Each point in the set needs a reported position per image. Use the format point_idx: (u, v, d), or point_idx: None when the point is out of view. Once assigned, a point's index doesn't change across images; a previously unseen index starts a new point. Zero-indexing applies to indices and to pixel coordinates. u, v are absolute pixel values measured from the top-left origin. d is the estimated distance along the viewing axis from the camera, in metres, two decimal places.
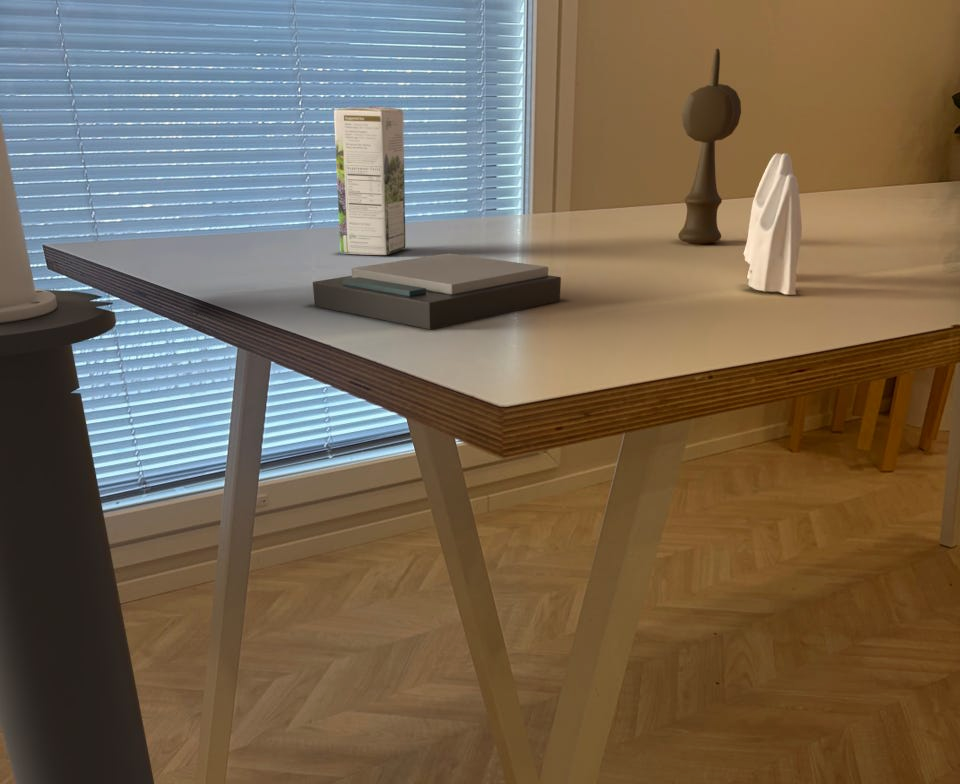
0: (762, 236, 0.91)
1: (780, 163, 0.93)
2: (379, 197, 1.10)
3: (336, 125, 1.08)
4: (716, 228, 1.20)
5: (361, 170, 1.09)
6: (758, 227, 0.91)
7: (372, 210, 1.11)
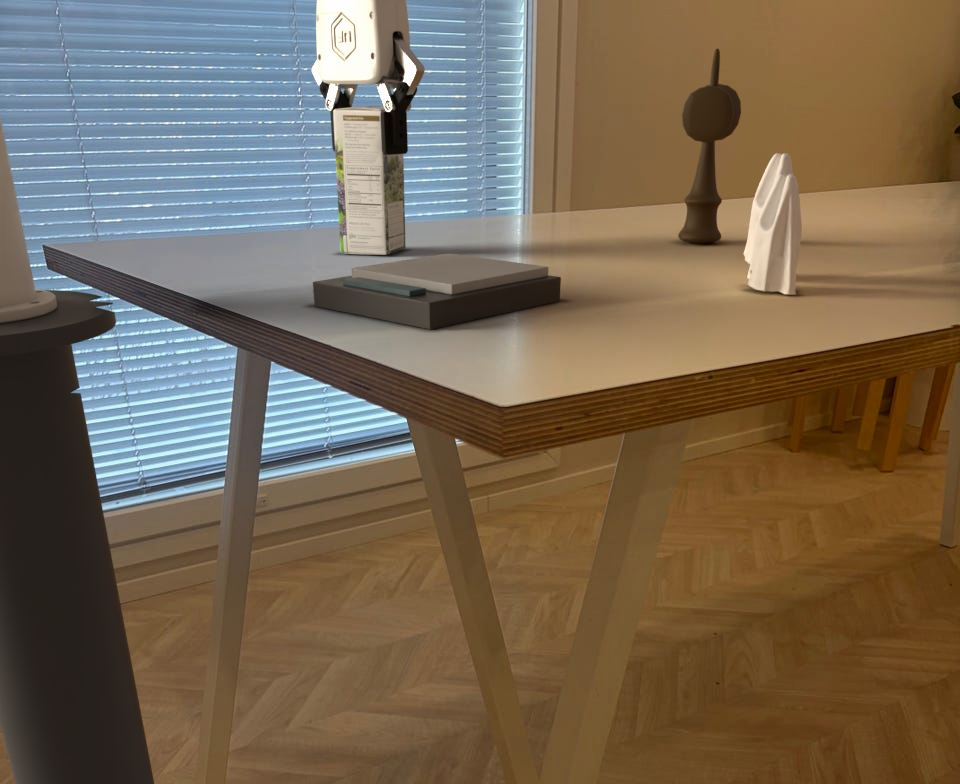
0: (762, 236, 0.91)
1: (780, 163, 0.93)
2: (379, 196, 1.10)
3: (335, 125, 1.08)
4: (716, 228, 1.20)
5: (361, 170, 1.09)
6: (758, 227, 0.91)
7: (372, 209, 1.11)
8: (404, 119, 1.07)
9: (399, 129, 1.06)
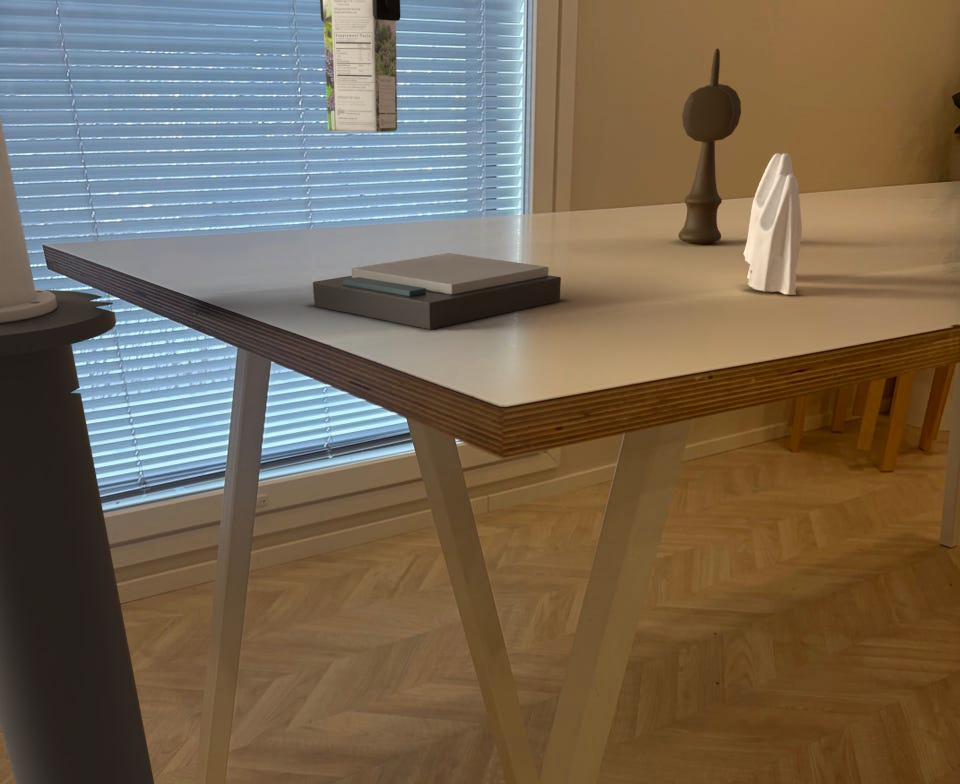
0: (762, 236, 0.91)
1: (780, 163, 0.93)
2: (369, 67, 1.04)
3: None
4: (716, 228, 1.20)
5: (350, 37, 1.03)
6: (758, 227, 0.91)
7: (362, 81, 1.04)
8: None
9: None
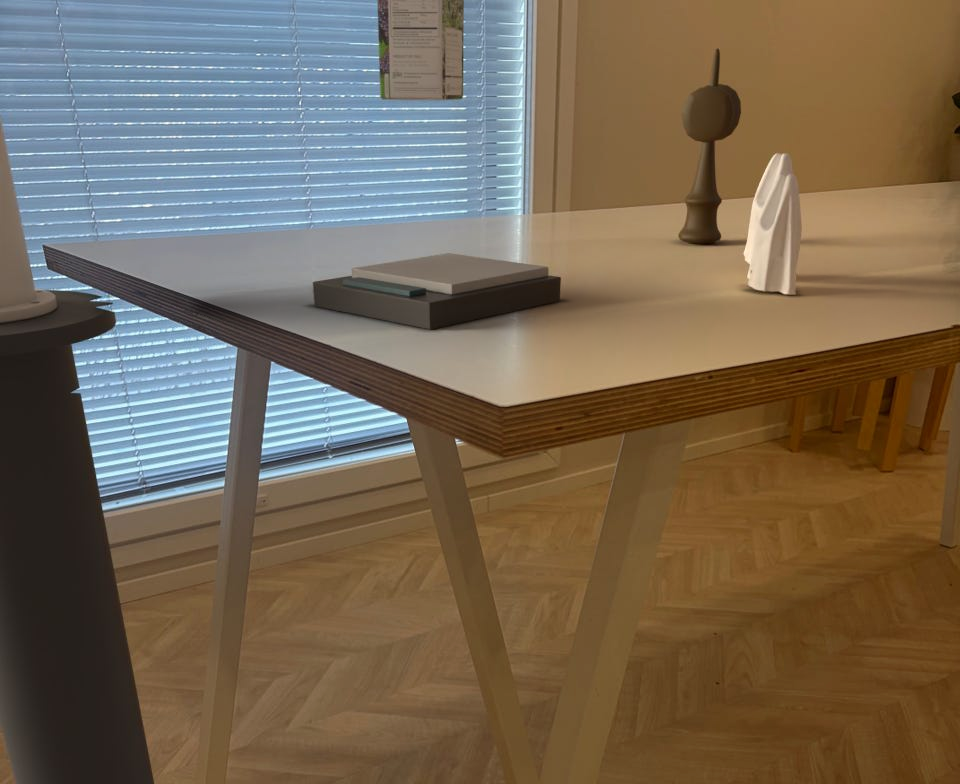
0: (762, 236, 0.91)
1: (780, 163, 0.93)
2: (435, 16, 0.82)
3: None
4: (716, 228, 1.20)
5: None
6: (758, 227, 0.91)
7: (425, 35, 0.83)
8: None
9: None
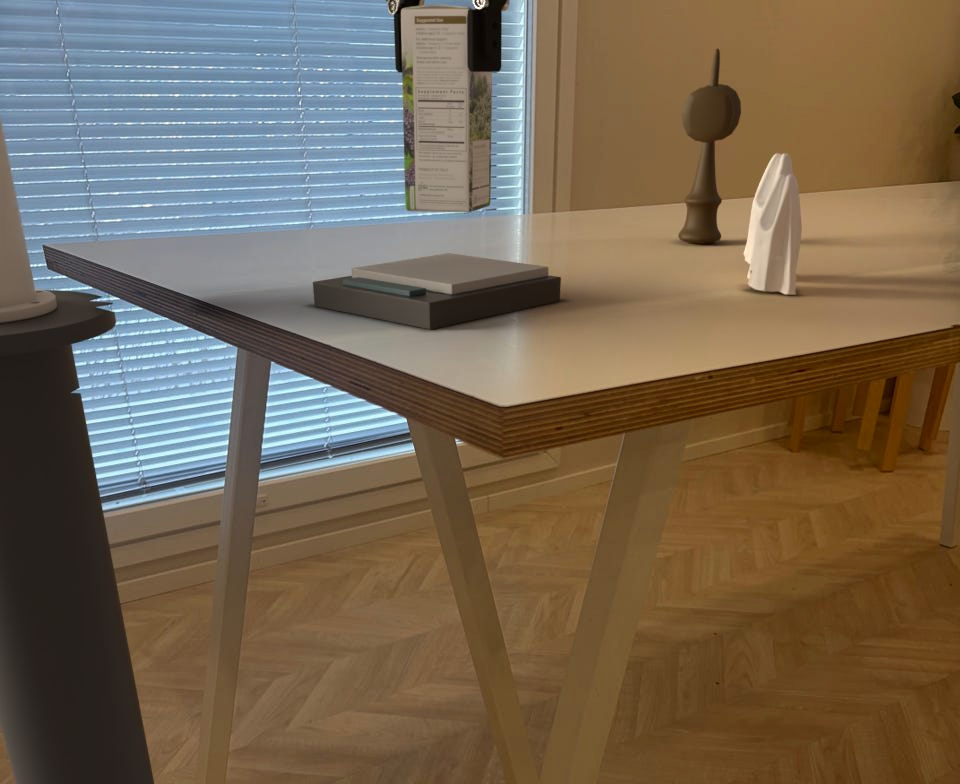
0: (762, 236, 0.91)
1: (780, 163, 0.93)
2: (461, 131, 0.80)
3: (404, 31, 0.78)
4: (716, 228, 1.20)
5: (437, 94, 0.79)
6: (758, 227, 0.91)
7: (452, 149, 0.81)
8: (499, 21, 0.77)
9: (492, 35, 0.77)
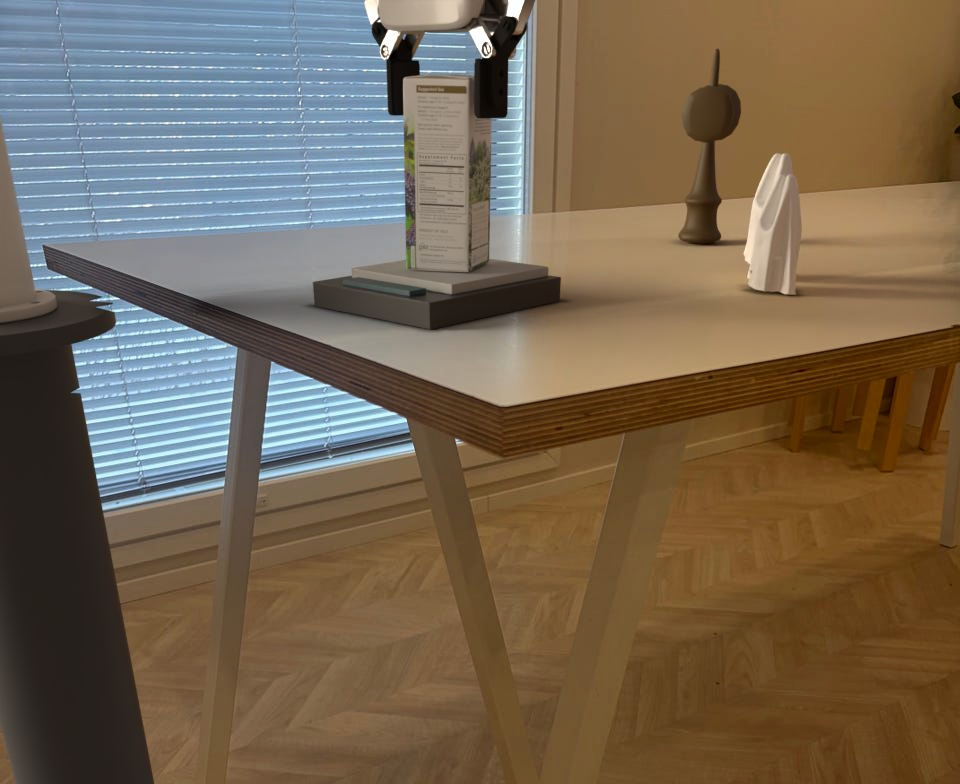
0: (762, 236, 0.91)
1: (780, 163, 0.93)
2: (461, 195, 0.82)
3: (405, 99, 0.80)
4: (716, 228, 1.20)
5: (438, 159, 0.82)
6: (758, 227, 0.91)
7: (452, 212, 0.83)
8: (506, 69, 0.78)
9: (499, 83, 0.78)
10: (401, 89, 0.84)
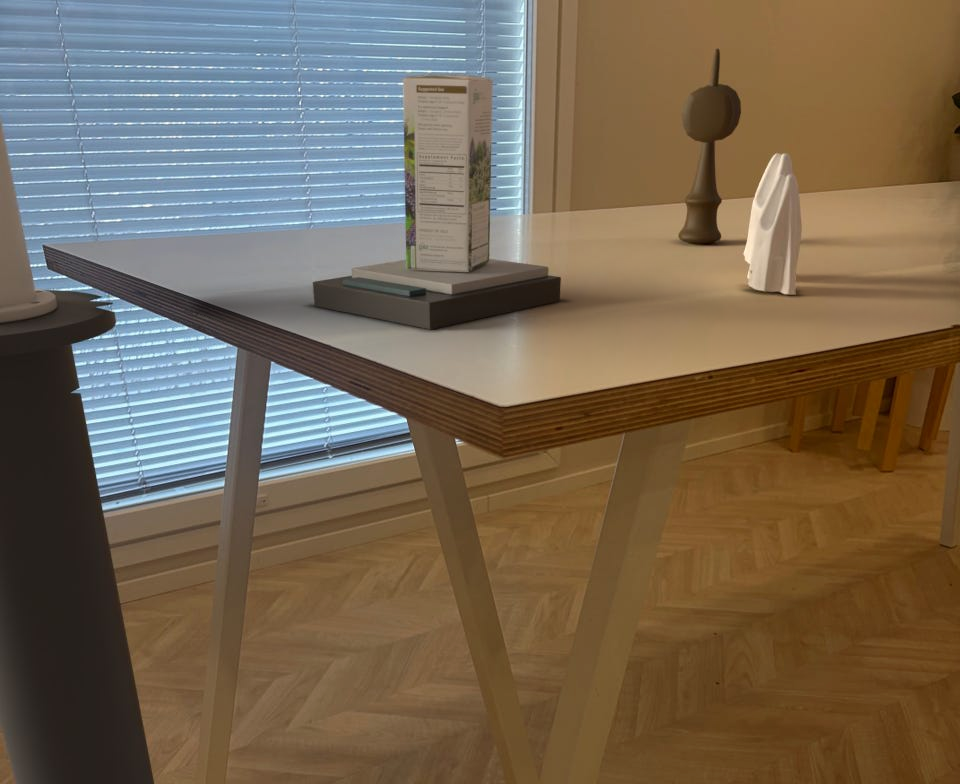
0: (762, 236, 0.91)
1: (780, 163, 0.93)
2: (461, 195, 0.82)
3: (406, 99, 0.80)
4: (716, 228, 1.20)
5: (438, 159, 0.82)
6: (758, 227, 0.91)
7: (452, 212, 0.83)
8: None
9: None
10: None
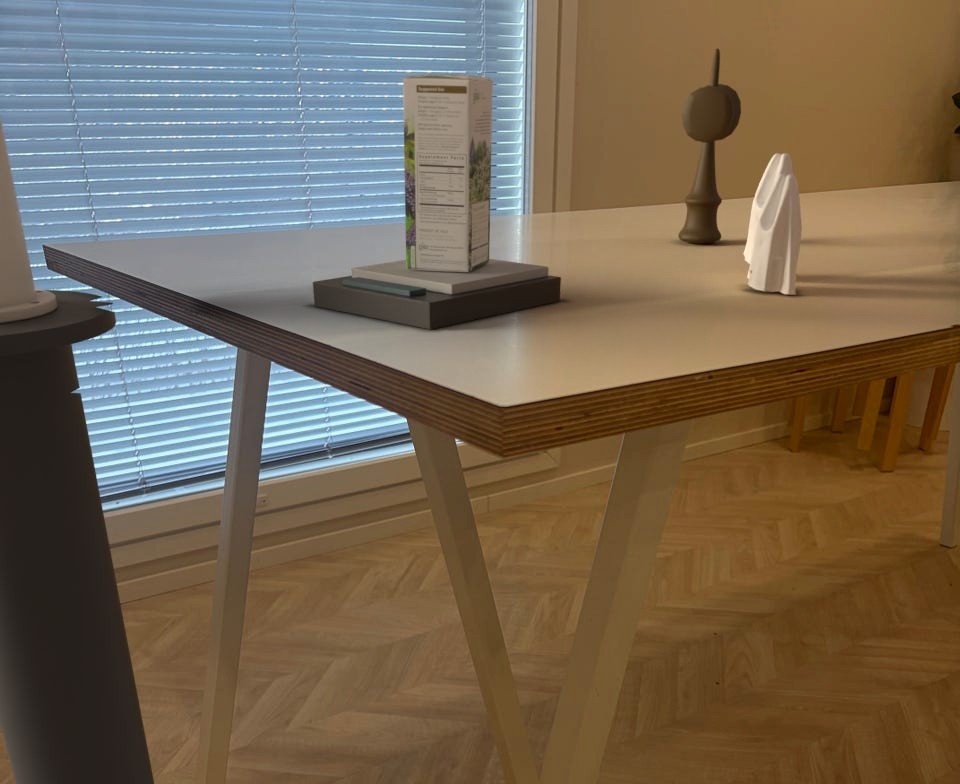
0: (762, 236, 0.91)
1: (780, 163, 0.93)
2: (461, 195, 0.82)
3: (406, 99, 0.80)
4: (716, 228, 1.20)
5: (438, 159, 0.82)
6: (758, 227, 0.91)
7: (452, 212, 0.83)
8: None
9: None
10: None
